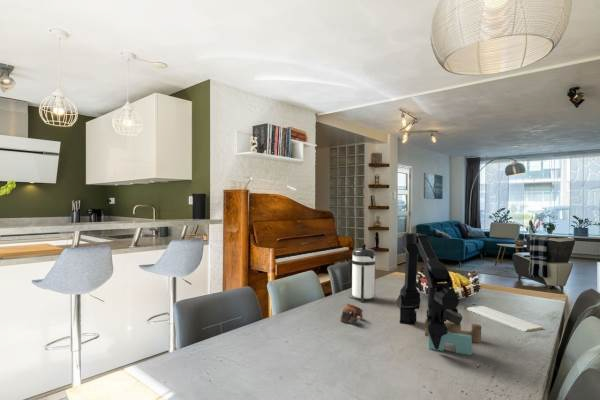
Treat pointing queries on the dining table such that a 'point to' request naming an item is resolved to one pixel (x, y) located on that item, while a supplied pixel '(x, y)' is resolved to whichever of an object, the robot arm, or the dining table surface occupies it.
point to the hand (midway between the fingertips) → (436, 344)
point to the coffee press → (362, 273)
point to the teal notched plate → (455, 342)
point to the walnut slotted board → (457, 329)
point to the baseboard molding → (504, 318)
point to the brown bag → (351, 314)
